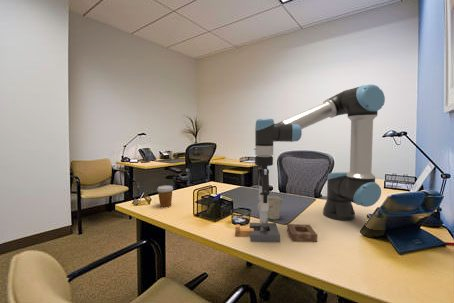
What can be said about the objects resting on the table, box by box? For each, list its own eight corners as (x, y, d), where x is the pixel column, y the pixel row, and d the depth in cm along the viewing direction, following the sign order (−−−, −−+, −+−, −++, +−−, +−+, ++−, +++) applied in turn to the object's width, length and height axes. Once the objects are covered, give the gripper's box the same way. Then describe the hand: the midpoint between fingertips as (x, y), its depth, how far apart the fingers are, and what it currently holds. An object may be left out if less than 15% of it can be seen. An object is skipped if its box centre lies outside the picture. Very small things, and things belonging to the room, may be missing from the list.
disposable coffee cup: (161, 203, 142) (161, 185, 141) (176, 204, 140) (175, 185, 139) (154, 208, 132) (154, 188, 131) (170, 209, 131) (169, 189, 130)
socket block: (275, 229, 102) (275, 223, 102) (280, 242, 90) (280, 235, 90) (249, 228, 103) (249, 222, 103) (250, 241, 91) (250, 234, 91)
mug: (282, 221, 112) (282, 201, 111) (256, 219, 114) (256, 200, 114) (281, 214, 120) (281, 196, 119) (257, 213, 123) (257, 195, 122)
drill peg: (267, 233, 98) (267, 202, 97) (268, 237, 95) (268, 205, 94) (259, 233, 99) (259, 202, 97) (259, 237, 95) (259, 205, 94)
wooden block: (253, 233, 98) (253, 224, 98) (254, 236, 96) (254, 227, 95) (235, 233, 99) (235, 224, 99) (235, 236, 96) (235, 227, 96)
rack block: (309, 231, 100) (309, 224, 100) (317, 241, 90) (317, 234, 90) (287, 230, 101) (287, 224, 101) (292, 241, 91) (292, 234, 91)
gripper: (253, 153, 106) (252, 196, 108) (257, 159, 82) (256, 215, 83) (269, 153, 106) (268, 196, 108) (277, 159, 81) (276, 215, 83)
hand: (263, 205), depth 96 cm, fingers open, 13 cm apart
